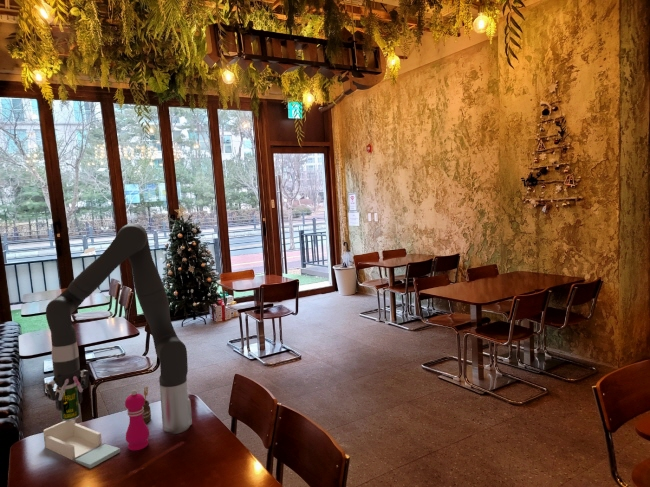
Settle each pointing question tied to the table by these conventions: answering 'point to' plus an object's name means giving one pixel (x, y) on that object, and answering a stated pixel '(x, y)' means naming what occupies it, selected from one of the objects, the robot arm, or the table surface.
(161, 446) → the table surface
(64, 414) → the beer can
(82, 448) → the tray
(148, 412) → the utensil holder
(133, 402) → the pepper mill
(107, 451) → the panel
